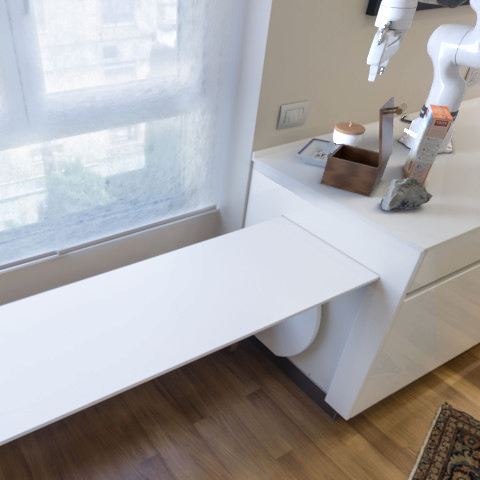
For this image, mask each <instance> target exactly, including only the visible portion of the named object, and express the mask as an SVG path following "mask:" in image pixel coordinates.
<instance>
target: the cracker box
mask: <svg viewBox="0 0 480 480" xmlns="http://www.w3.org/2000/svg"><path fill="white" fill-rule="evenodd" d="M452 122H453V118H452V116H451V114H450V111H449V109H448V107H447V106H441V105H432V104H430V105H429V106H428V109H427V111H426V114H425V116H424V118H423V121H422V123H421V126H420V128H419V131H418V133H417V135H416V138H415V140H414V143H413V145H412V147H411V148H410V150H409V152H408V155H407V157H406V159H405V162H404V164H403V171H404V179H407V178H410V177H411V176H412V177H414V178H415V179H417V180H418V181H419V182H421V183H422V184H423V185H424V184H425V182H426V180H427V178H428V175H429V173H430V171H431V169H432V167H433V165H434V162H435V160H436V159H437V156H438V154H439V153H438V152H439V150H440V147H441V145H442V143H443V141H444V139H445V137H446V134H447V132H448V130H449V128H450V126H451V124H452ZM453 123H454V122H453Z"/></svg>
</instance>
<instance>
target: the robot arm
mask: <svg viewBox="0 0 480 480" xmlns="http://www.w3.org/2000/svg"><path fill="white" fill-rule="evenodd" d="M467 1H468V0H381V2H380V5H379V8H378V11H377V15H376V19H375V22H374V26H375V27H377V31H376V33H375V35H374V37H373V40H372V43H371V46H370V48H369V52H368V55H367V59H366V65H368V66H369V65H370V67H369V74H368V78H367V81H368V82H371V83H372V82H375V81H376V79H377V76H378V75H383V74H384V73H385V71H386V69H387V67H388V64H389V62H390V60H391V57H392V56H394V55H395V54H396V53H398V50H399V49H400V47H401V45H402V42H403V39H404V37H405V35H406V31H407V30H409V29H410V28H411V25H412V22H413V19H414V16H415V14H416V11H417V7H418V3H424V4H430V5H437V6H441V7H445V8H448V9H456V8H458V7H460V6H461V5H463V4H464V3H466V2H467ZM469 6H470V8H471V10H473V11H474V12H475V14H476V22H475V26H474V25H469V24H463V23H445V24H444V23H443V24H440V25H439V26H438V27H436V29H434V30H433V32H432V33H431V34H430V35H429V38H428V40H427V43H426V44H427V46H426V52H427V55H428V56H429V58H430V60H431V63H432V68H433V69H432V70H433V77H432V83H431V87H430V90H429V92H428V94H427V98H426V100H425V103H424V104H423V105H422V107H421V109H420V111H419V116H418V117H416V118H414V119H413V120H410V119H406V118H405V117H407V115H406V116H405V117H403V118H402V117H401V121H402V122H405V123H410V125H409V128H408V129H407V128H404V130H403V131H404V132H405V133H406V134H405V135H403V136H402V137H400V138H399V139H398V142H400V143H401V144H402V145H403V144H404V145H405V146H406V147H407V148H409V149H411V147H412V145H413V143H414V140H415V138H416V135H417V133H418V131H419V128H420V126H421V123H422V121H423V118H424V116H425V114H426V111H427V109H428V106H429V105H430V104H432V105H441V106H447V107H448V109H449V111H450V114H451V116H452V118H453V122H452V124H451V126H450V128H449V130H448V132H447V134H446V137H445V139H444V141H443V143H442V145H441V147H440V150H439V152H438V154H441V153H442V154H443V153H446V154H447V153H453V152H452V151H453V145H452V144H453V143H452V140H453V135H454V134H455V131H456V128H455V124H454V122H455V121H456V119H457V117H458V114H459V111H460V107H461V104H462V103H463V100H464V98H465V95H466V93H467V91H468V82H467V81H466V79H465V78H464V77H463V75H462V73H461V66H463V67H467V68H471V69H476V70H480V0H469Z"/></svg>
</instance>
